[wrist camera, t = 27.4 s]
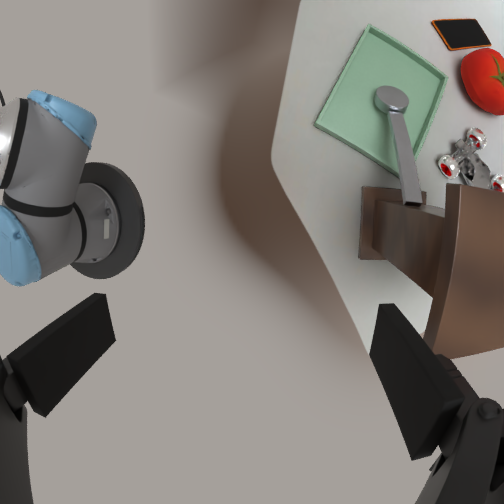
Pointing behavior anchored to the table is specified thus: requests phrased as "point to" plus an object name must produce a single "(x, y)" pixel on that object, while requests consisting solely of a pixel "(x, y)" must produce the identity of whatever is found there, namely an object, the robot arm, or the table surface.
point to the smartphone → (461, 33)
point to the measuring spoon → (400, 141)
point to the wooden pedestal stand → (445, 260)
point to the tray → (364, 90)
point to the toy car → (471, 163)
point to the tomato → (485, 79)
